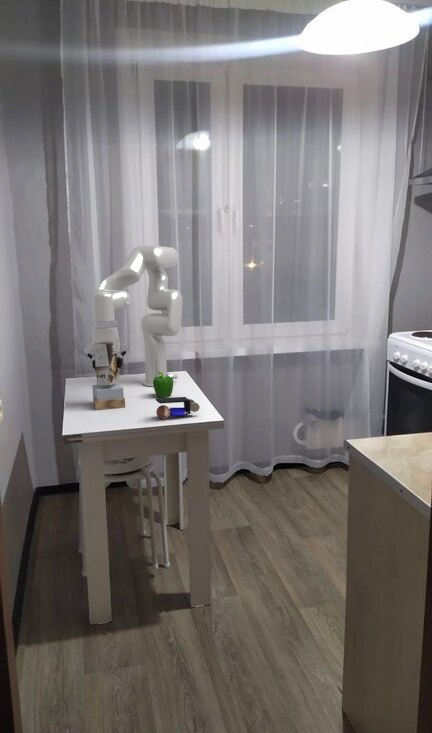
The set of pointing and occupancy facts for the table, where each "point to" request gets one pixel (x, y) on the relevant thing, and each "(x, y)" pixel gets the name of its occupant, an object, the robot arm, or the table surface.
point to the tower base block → (109, 404)
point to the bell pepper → (163, 385)
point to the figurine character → (165, 411)
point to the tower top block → (107, 392)
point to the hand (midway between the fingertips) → (107, 368)
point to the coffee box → (106, 364)
